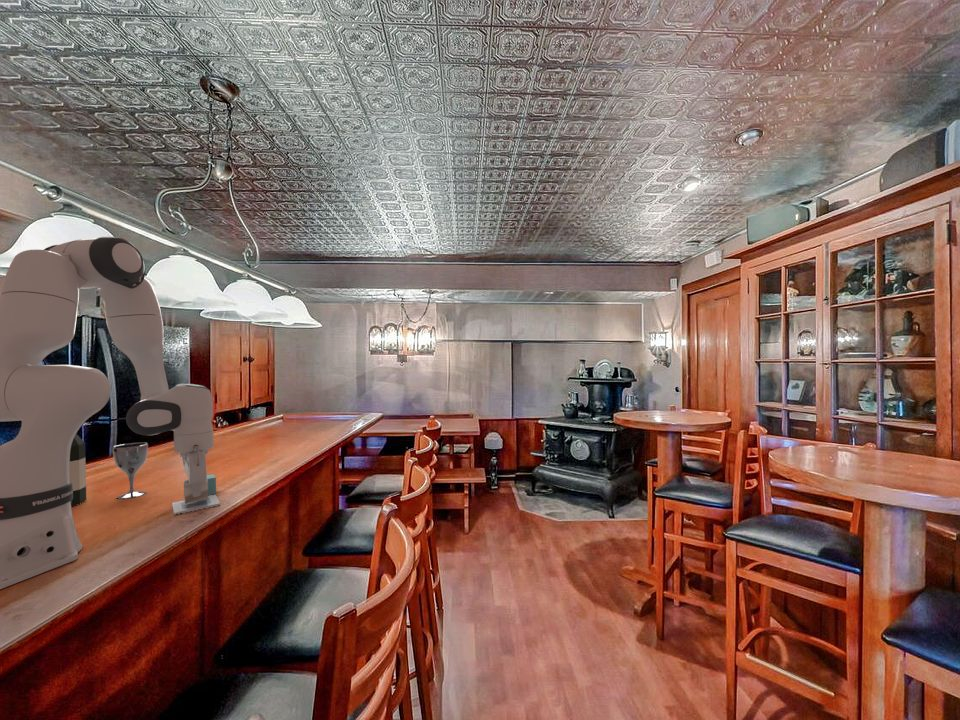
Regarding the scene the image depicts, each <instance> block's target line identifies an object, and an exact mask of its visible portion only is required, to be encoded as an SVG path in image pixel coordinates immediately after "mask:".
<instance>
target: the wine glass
mask: <svg viewBox="0 0 960 720" xmlns="http://www.w3.org/2000/svg"><path fill="white" fill-rule="evenodd" d="M148 452H149V443H148V442H145V441H144V442H143V441H142V442H139V441H138V442H131V443H123V444H118V445H114V446H112V457H113V461H114V463H115V466H116V467H117V468H118V469H119V470H121V471H122V472H123V473H124V474H126V476H127V478H128V481H129V491H128V492H126V493H123V494H120V495H117V496H118V497H117V496H116V497H117V498H118V499H117V500H128V499H127V498H129V499H134V497H135V498H139V497H141V496H144V495H147V494H148V491H147V490H134V481H135V476H136V474H137V472H138V471H139V470H140V469H141V468H142V467H143V466H144V464H145V463H146V461H147V457H148V454H149V453H148Z"/></svg>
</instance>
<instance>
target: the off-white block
mask: <svg viewBox="0 0 960 720" xmlns="http://www.w3.org/2000/svg"><path fill="white" fill-rule="evenodd" d="M206 499H208V480H206V482H205V483H202V485H201V495H200V496H198V497H193V495H192V485H191V484H190V483H189V480H188V479H184V480H183V501H185V504H186V503H191V502H196V501H201V500H206Z"/></svg>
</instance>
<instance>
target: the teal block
mask: <svg viewBox="0 0 960 720" xmlns="http://www.w3.org/2000/svg"><path fill="white" fill-rule="evenodd" d="M207 480H208V495H212V494H216V495H217V477H216V475H215V474H214V473H212V474H207Z"/></svg>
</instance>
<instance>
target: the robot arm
mask: <svg viewBox="0 0 960 720" xmlns="http://www.w3.org/2000/svg"><path fill="white" fill-rule="evenodd" d="M94 288H97V289H96V291H97V292H98V293H99V295H100V296H101V298H102V300H103V307H104V315H105V322H106V326H107V330H108V333H109V335H110V337H111V340H112V342H113V345H114V346H116V348H117V349H119V350H120V352H122V353H123V354H124V355H125V356H126V357H127V358H128V359H129V361H131V363H132V365H133V367H134V370H135V372H136V377H137V381H138V382H137V383H138V386H139V392H140V401H138V402H136V403H134V404H133V405H132V406H131V407H130V408H128V410H127V412H126V415H125V422H126V425H127V426H128V428H129V429H130V430H131V432H134V433H135V434H136V435H137V434H138V435H140V436H154V435H156V436H157V435H159V434H161V433H165V432H171V431H173V452H175V453H179V456H180V458H182V465H183V468H184V471H185V474H186V477H187V480H189V483H190V484H191V485H192V495H193V497H198V496H200V495H201V485H202V483H205V482H206V480H207V475H208V473H207V472H208V471H207V457H206V455H208V454H209V449H212V448H214V447H215V446H214V445H215V444H214V443H215V442H214V441H215V440H214V438H215V437H214V426H213V423H212V422H213V416H214V407H213V406H214V405H213V398H212V393H211V390H210V389H209V388H208V387H206V386H205V385H201V384H194V383H178V384H176V385H175V386H174V387H171V388H170V387H169V386H170V385H169V383H168V377H167V376H168V375H167V372H166V368H165V363H164V321H163V317H162V311H161V306H160V303H159V300H158V296H157V294H156V292H155V290H154V286H153V284H152V283H151V282H150V281H149V280H148V279H147V278H146V270H145V263H144V258H143V255H142V254H141V252H140V250H139V249H138V248H137V247H136V246H135V245H134V244H133V243H131V242H130V241H129V240H127V239H125V238H122V237H116V236H100V237H97V238H87V239H85V238H84V239H75V240H71V241H67V242H63V243H61V244H54V245H51V246H47V247H46V248H44V249H28V250H27V249H26V250H23V251H21V252H19V253H17V254H16V255H15V256H14V257H13V259H12V261H11V263H10V265H9V267H8V269H7V270H6V273H5V277H4V279H3V282H2V286H1V291H0V422H16V421H17V422H19V421H21V427H20V428H19V429H20V430H19V432H18V434H17V436H16V437H14V439H12V440H9V441H8V442H5V443H2V445H0V590H2V589H4V588H7V587H9V586H12V585H15V584H18V583H19V582H22V581H25V580H28V579H30V578H32V577H35V576H38V575H40V574H43V573H45V572H48V571H51V570H53V569H56V568H58V567H61V566H64V565H66V564H68V563H71V562H74V561H76V560H77V559H78V558H79V554H78V553H79V552H80V551H81V550H82V549H83V545H82V542H81V540H80V539H79V535H78V531H77V530H76V526H75V522H74V516H73V511H72V506H71V502H72V499H73V487H72V482H70V481H69V464H70V450H71V445H72V442H73V439H74V437H75V435H76V434H77V433H78V431H80V428H81V427H82V426H83V424H85V422H86V421H87V420H88V419H89V418H91V417H92V416H93V415H95V414H97V413H98V412H99V411H101V410H102V409H103V408H104V407H105V406H106V405H107V403H108V402H109V400H110V397H111V394H112V387H111V383H110V380H109V378H108V377H107V375H106V374H105V373H103V372H102V371H101V370H100V369H98V368H94V367H87V366H84V365H83V366H80V365H73V364H46V365H45V364H44V365H43V364H42V365H41V362H43V360H44V359H45V358H46V357H47V356H49V355H50V354H51V353H53V352H56V351H58V350H59V349H62V348H64V347H66V346H68V345H69V344H70V343H71V342H72V340H73V339H74V337H75V333H76V325H77V318H78V317H77V316H78V309H79V298H80V291H81V290H83V289H94Z"/></svg>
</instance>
